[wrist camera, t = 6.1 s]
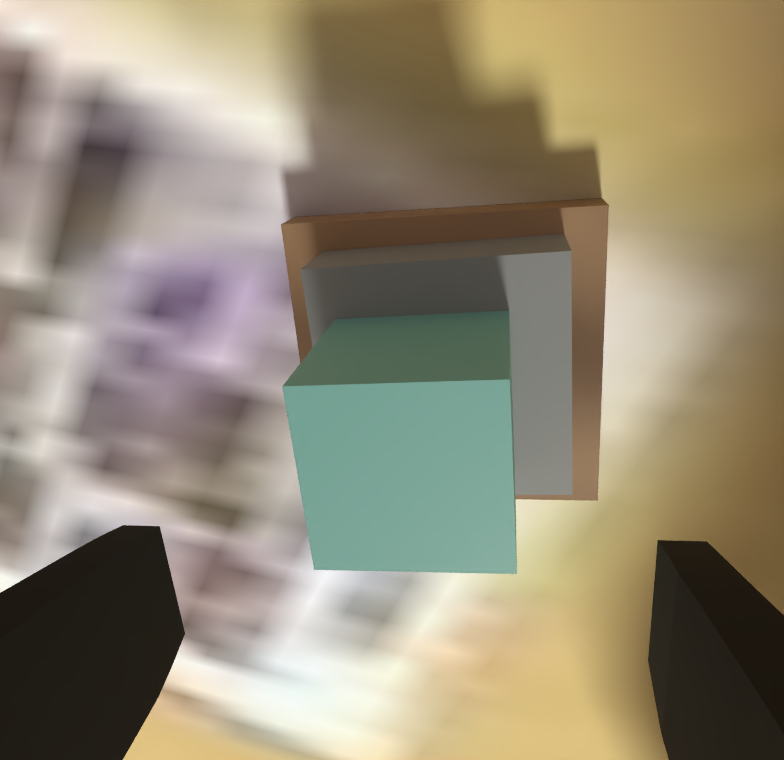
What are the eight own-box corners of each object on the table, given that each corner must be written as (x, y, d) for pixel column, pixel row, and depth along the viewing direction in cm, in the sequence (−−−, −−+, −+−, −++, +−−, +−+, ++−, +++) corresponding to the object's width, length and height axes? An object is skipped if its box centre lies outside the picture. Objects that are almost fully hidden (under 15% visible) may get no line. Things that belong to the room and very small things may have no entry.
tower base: (589, 464, 20) (597, 500, 19) (335, 462, 22) (318, 495, 20) (598, 194, 17) (608, 204, 16) (303, 212, 19) (280, 224, 17)
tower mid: (565, 455, 18) (572, 494, 16) (351, 458, 19) (335, 495, 17) (564, 233, 16) (571, 250, 14) (322, 251, 17) (300, 269, 15)
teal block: (514, 468, 16) (516, 573, 13) (355, 469, 17) (314, 569, 13) (509, 310, 15) (510, 379, 11) (334, 319, 16) (282, 386, 12)
